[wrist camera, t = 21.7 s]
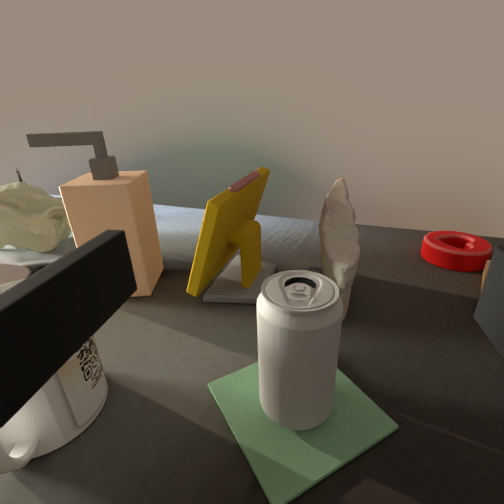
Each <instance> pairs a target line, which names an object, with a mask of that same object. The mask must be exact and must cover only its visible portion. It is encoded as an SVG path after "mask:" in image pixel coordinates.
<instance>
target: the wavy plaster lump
mask: <svg viewBox="0 0 504 504" xmlns="http://www.w3.org/2000/svg"><path fill="white" fill-rule="evenodd" d="M70 233H71V227H70V224H69V220H68V217H67V214H66V210H65V207H64V203H63V200H62V198H55V197H52V196H50V195H49V194H47V193H46V192H45V191H43V190H41V189H39V188H37V187H34V186H32V185H28V184H26V183H24V182H14V183H10V184H8V185H4V186H1V187H0V249H1V248H3V247H4V246H5V245H11V246H14V247H16V248H27V249H29V250H34V251H36V252H48V251H51V250H53V249H54V248H56V247H57V245H58V242H59V241H62V240H64V239H66V238H67V237H69V235H70Z"/></svg>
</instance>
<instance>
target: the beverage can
mask: <svg viewBox="0 0 504 504" xmlns="http://www.w3.org/2000/svg"><path fill="white" fill-rule="evenodd" d="M342 316H343V303H342V301H341V299H340V297H339V288H338V286H337V285H336V283H335V282H334V281H333V280H331V279H330V278H328V277H326V276H324V275H322V274H319V273H316V272H312V271H305V270H289V271H283V272H279V273H276V274H274V275H272V276H270V277H268V278H267V279H266V280H265V281H264V282H263V284H262V286H261V293H260V295H259V296H258V298H257V335H258V365H259V395H260V403H261V406H262V408H263V410H264V412H265V413H266V415H267V416H268V417H269V418H270V419H271V420H272V421H274V422H275V423H276V424H278V425H280V426H282V427H285V428H288V429H292V430H307V429H311V428H314V427H316V426H318V425H320V424H322V423H323V422H324V421H325V420H326V419H327V418H328V416H329V415H330V413H331V410H332V407H333V400H334V390H335V381H336V372H337V362H338V353H339V344H340V335H341V325H342Z"/></svg>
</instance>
